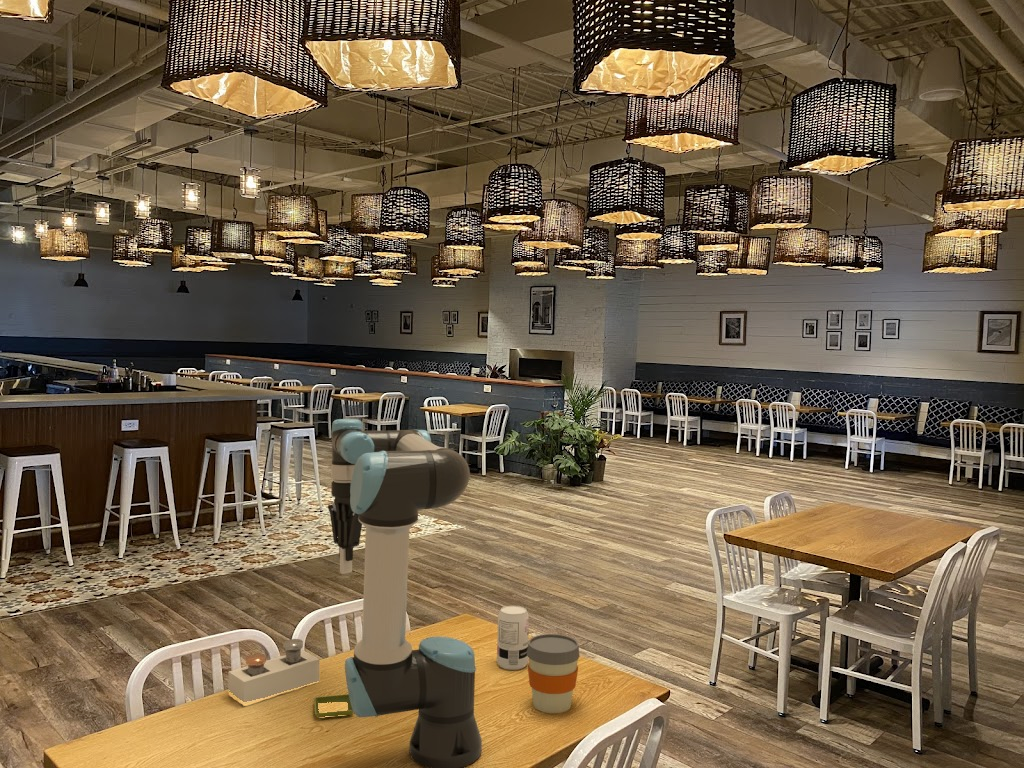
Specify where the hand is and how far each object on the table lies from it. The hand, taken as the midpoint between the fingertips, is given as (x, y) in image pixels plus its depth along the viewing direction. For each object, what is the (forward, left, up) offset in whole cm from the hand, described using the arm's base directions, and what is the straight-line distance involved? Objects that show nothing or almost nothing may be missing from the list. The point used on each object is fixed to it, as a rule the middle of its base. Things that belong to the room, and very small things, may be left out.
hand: (345, 572), depth 203 cm
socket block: (-12, +13, -27) cm, 32 cm away
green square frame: (-18, -6, -28) cm, 33 cm away
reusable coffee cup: (0, -54, -27) cm, 61 cm away
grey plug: (-7, +10, -25) cm, 28 cm away
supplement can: (+20, -39, -27) cm, 52 cm away
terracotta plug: (-16, +15, -26) cm, 34 cm away
